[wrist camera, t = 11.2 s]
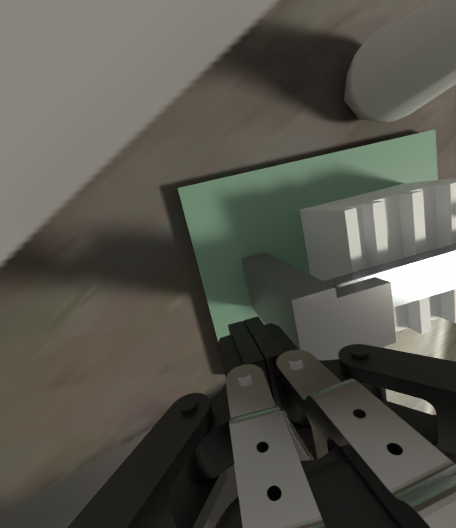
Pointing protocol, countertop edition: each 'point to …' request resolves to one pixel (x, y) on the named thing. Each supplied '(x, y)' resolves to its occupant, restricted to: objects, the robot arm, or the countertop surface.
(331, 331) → the block
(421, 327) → the heatsink base
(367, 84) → the salt shaker
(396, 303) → the strap
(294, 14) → the countertop surface
